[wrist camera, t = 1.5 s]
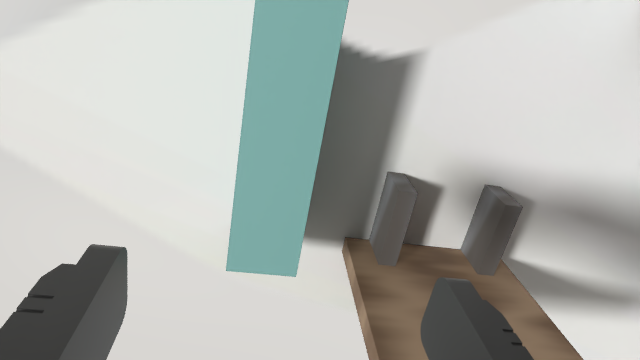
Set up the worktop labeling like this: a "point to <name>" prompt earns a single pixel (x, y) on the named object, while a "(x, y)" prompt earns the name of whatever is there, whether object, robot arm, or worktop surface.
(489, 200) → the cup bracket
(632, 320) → the worktop surface
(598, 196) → the worktop surface
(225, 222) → the worktop surface
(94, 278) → the robot arm
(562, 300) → the worktop surface
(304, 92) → the rail
